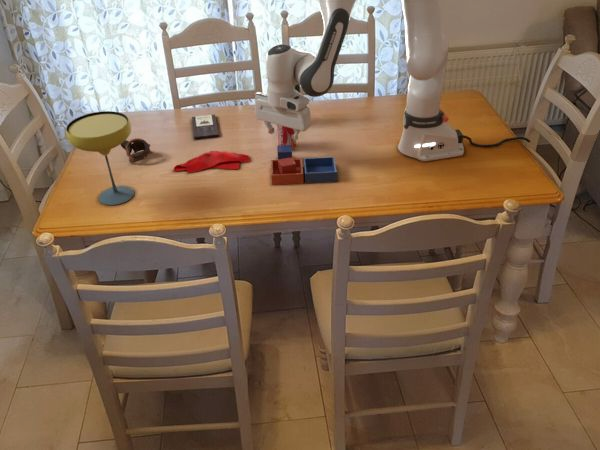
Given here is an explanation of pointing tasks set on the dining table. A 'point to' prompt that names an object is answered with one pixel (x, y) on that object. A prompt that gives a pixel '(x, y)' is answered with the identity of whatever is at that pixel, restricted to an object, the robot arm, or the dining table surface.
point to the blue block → (284, 151)
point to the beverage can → (285, 136)
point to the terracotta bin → (287, 178)
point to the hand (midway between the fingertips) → (282, 136)
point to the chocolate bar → (205, 127)
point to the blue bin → (320, 170)
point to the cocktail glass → (102, 144)
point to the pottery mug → (136, 149)
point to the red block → (286, 166)
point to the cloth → (213, 161)
